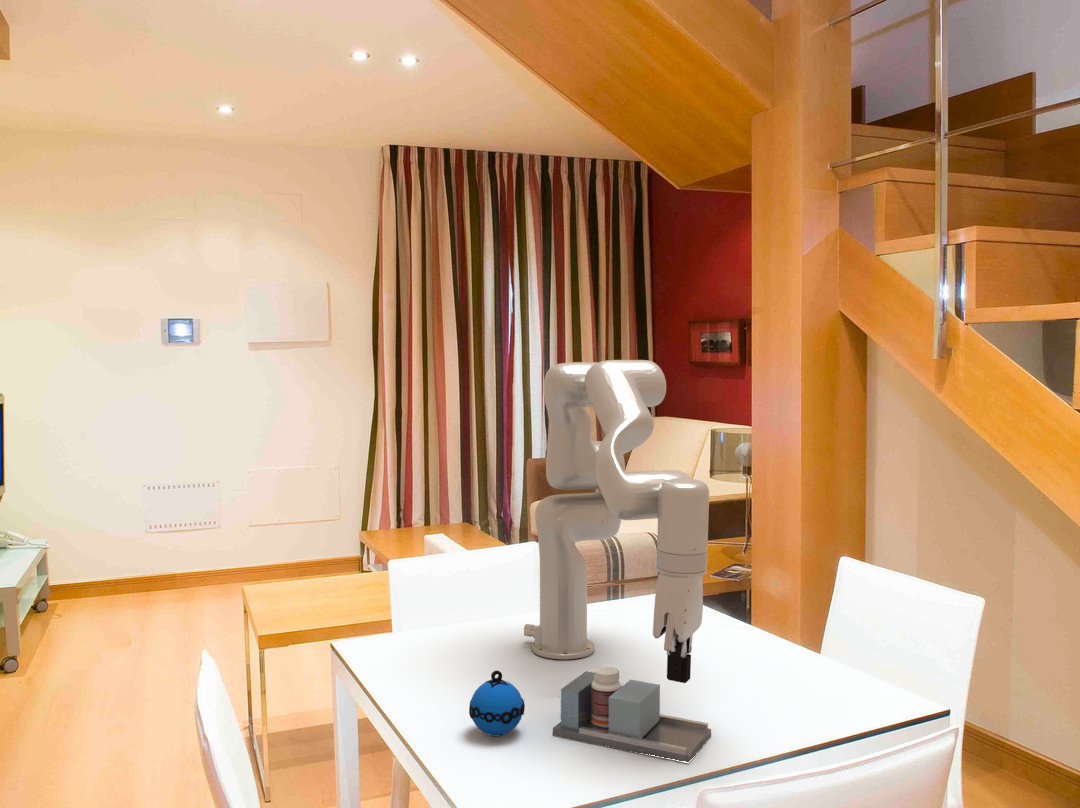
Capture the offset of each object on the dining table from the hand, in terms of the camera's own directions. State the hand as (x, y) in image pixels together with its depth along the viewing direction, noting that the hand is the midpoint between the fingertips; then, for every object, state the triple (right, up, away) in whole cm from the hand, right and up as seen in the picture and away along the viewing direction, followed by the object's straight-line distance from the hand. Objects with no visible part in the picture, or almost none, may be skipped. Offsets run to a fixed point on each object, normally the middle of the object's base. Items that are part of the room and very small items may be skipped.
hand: (678, 679), depth 138 cm
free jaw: (-6, -8, +3) cm, 11 cm away
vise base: (-7, -10, +3) cm, 12 cm away
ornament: (-28, -10, +4) cm, 30 cm away
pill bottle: (-11, -9, +5) cm, 15 cm away
